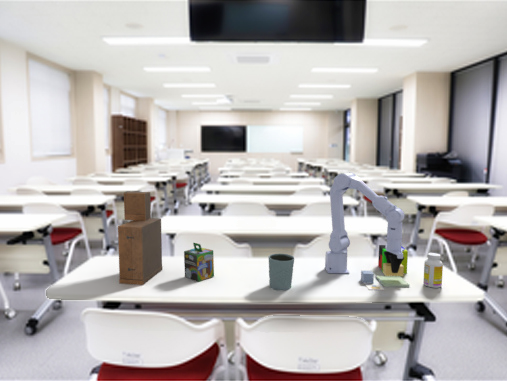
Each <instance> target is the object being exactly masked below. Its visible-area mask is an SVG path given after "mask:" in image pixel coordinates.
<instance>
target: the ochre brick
mask: <svg viewBox="0 0 507 381" xmlns="http://www.w3.org/2000/svg"><path fill="white" fill-rule="evenodd" d="M403 271H404V266H403V265H402V264H401V265H400V268H399V271H398V273H392V269H391V263H383V271H382V273H383V275H384V276H400V277H404V273H403Z"/></svg>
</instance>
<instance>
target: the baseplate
mask: <svg viewBox="0 0 507 381" xmlns="http://www.w3.org/2000/svg"><path fill="white" fill-rule="evenodd" d="M375 278H376V279H377V280H378V282H379V283H380V285H381V286H382V287H383V288H384V287H387V288H389V287H390V288H391V287H393V288H394V287H395V288H397V287H398V288H410V284H409V282H408V281H406V280H405V279H404V278H403V276H385V275H376V276H375Z"/></svg>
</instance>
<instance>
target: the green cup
mask: <svg viewBox="0 0 507 381" xmlns="http://www.w3.org/2000/svg"><path fill="white" fill-rule="evenodd" d="M294 264H295V256H293V255H290V254H287V253H274V254H273V253H272V254H270V255H269V256H268V276H269V277H268V279H269V280H268V281H269V282H268V283H269V288H271V290H275V291H288V290H290V289H291V288H292V282H293V281H292V280H293V273H294Z"/></svg>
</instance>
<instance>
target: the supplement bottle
mask: <svg viewBox="0 0 507 381" xmlns="http://www.w3.org/2000/svg"><path fill="white" fill-rule="evenodd" d="M426 257H427V259H425V260H424V263H423V266H424V267H423V285H424V286H426V287H428V288H432V289H434V288H435V289H439V288H442V286H443V272H444V270H443V267H444V264H443V262H442V260H441V258H442V257H441V254H440V253H437V252H429V253H427V256H426Z"/></svg>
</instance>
